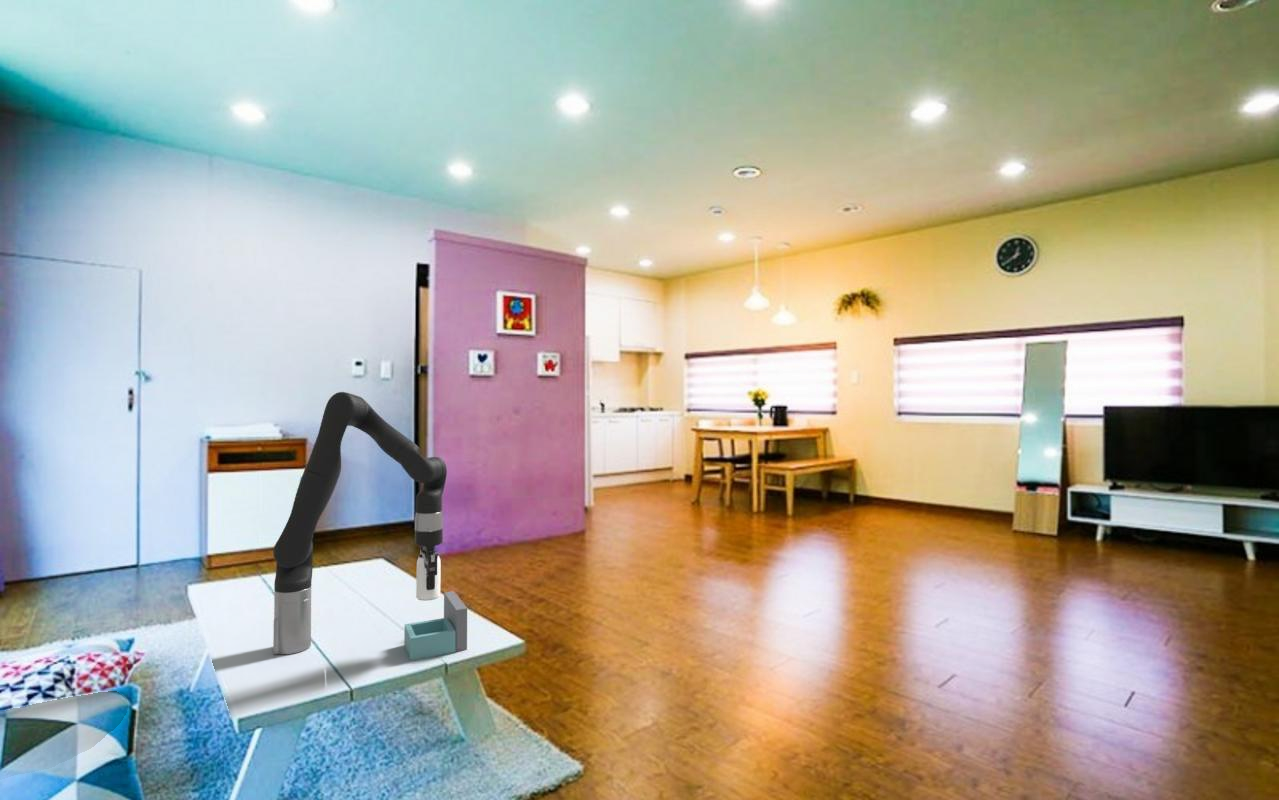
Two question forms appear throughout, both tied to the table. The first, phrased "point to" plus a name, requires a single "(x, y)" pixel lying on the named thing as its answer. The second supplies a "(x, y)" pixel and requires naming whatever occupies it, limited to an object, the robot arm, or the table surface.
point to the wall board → (456, 618)
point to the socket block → (429, 638)
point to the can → (421, 581)
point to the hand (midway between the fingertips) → (428, 585)
